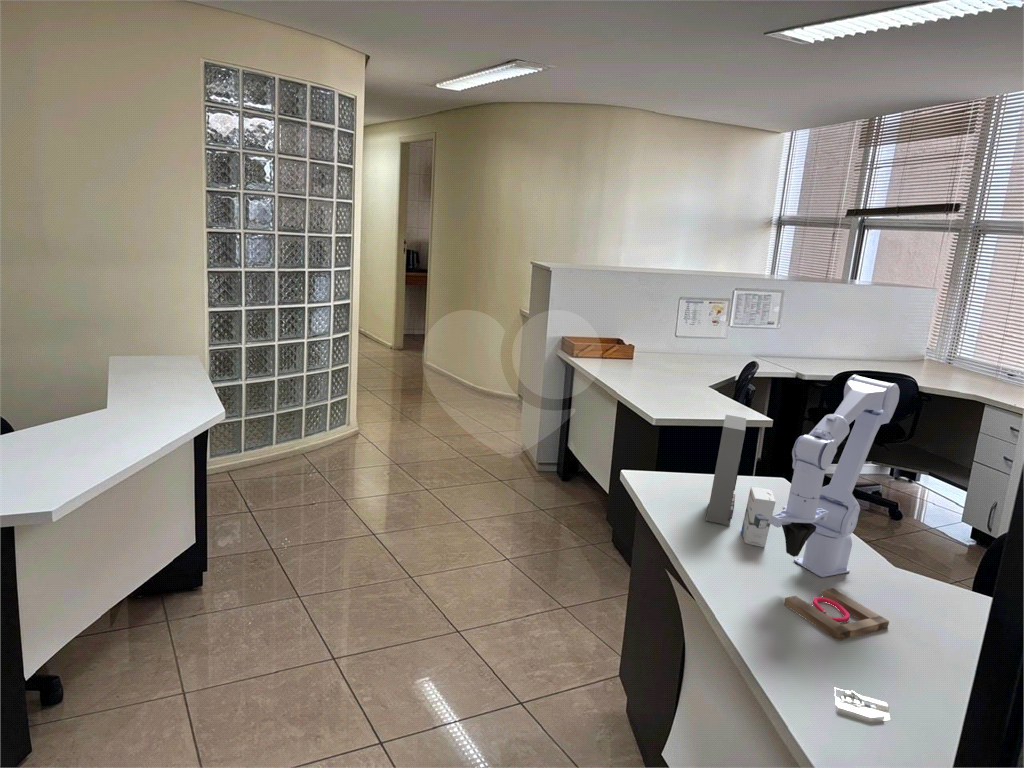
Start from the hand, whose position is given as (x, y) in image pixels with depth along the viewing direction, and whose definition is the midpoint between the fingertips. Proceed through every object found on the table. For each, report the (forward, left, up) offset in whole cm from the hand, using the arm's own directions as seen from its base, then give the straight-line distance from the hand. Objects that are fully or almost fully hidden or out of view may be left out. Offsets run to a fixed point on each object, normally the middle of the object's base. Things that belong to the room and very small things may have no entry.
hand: (792, 554), depth 151 cm
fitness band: (-1, +11, -8) cm, 13 cm away
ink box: (-11, -20, -7) cm, 24 cm away
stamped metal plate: (+20, +34, -8) cm, 40 cm away
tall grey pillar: (-13, -34, -7) cm, 37 cm away
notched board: (0, +13, -7) cm, 14 cm away
